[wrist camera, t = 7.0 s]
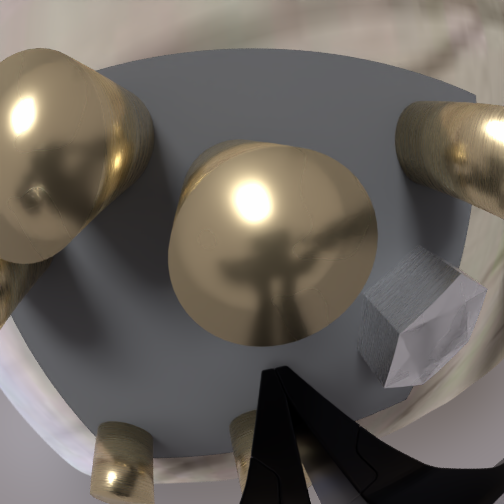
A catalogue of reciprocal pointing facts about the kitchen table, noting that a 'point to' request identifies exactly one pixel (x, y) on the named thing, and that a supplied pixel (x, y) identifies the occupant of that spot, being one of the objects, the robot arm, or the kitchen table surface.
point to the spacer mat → (160, 227)
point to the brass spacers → (212, 219)
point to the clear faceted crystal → (417, 318)
